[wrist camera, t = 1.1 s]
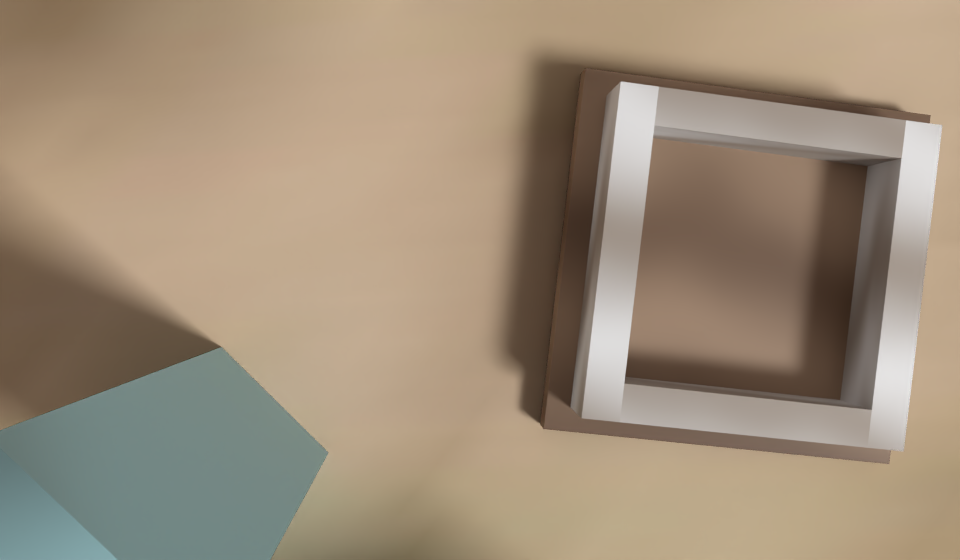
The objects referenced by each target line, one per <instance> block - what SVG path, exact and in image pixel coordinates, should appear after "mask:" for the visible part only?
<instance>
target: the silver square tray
mask: <svg viewBox="0 0 960 560" xmlns="http://www.w3.org/2000/svg"><path fill="white" fill-rule="evenodd" d="M930 116H931V115H925V114H917V113H910V112H903V111H895V110H888V109H881V108H874V107H866V106H859V105H852V104H844V103H837V102H830V101H822V100H815V99H808V98H801V97H793V96H786V95H779V94H771V93H764V92H757V91H749V90H742V89H735V88H728V87H720V86H713V85H706V84H698V83H691V82H684V81H676V80H669V79H662V78H655V77H647V76H640V75H633V74H625V73H618V72H611V71H604V70H596V69H589V68H585V70H584V71H583V72H582V74H581V77H580V86H579V94H578V103H577V111H576V120H575V129H574V137H573V146H572V154H571V163H570V172H569V180H568V189H567V197H566V206H565V215H564V223H563V232H562V240H561V249H560V258H559V266H558V275H557V284H556V292H555V301H554V309H553V318H552V327H551V335H550V344H549V352H548V361H547V370H546V378H545V387H544V395H543V404H542V413H541V421H540V424H541V426H542V427H543V428H544V429H549V430H559V431H569V432H579V433H589V434H599V435H608V436H618V437H628V438H638V439H648V440H658V441H667V442H677V443H687V444H697V445H707V446H717V447H727V448H736V449H746V450H756V451H766V452H776V453H786V454H795V455H805V456H815V457H825V458H835V459H845V460H855V461H864V462H874V463H884V464H889V461H890V453H891V450H894V451H904V443H905V435H906V426H907V418H908V410H909V401H910V393H911V384H912V376H913V367H914V359H915V351H916V342H917V334H918V325H919V317H920V308H921V300H922V292H923V283H924V275H925V266H926V258H927V250H928V241H929V233H930V224H931V216H932V207H933V199H934V191H935V182H936V174H937V165H938V157H939V148H940V140H941V132H942V125H937V124H930Z"/></svg>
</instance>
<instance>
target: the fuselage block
mask: <svg viewBox="0 0 960 560" xmlns="http://www.w3.org/2000/svg"><path fill="white" fill-rule="evenodd" d="M327 454H328V452H327V451H326V450H325V449H324V448H323V447H322V446H321V445H320V444H319V443H318V442H317V441H316V440H315V439H314V438H313V437H312V436H311V435H310V434H309V433H308V432H307V431H306V430H305V429H304V428H303V427H302V426H301V425H300V424H299V423H298V422H297V421H296V420H295V419H294V418H293V417H292V416H291V415H290V414H289V413H288V412H287V411H286V410H285V409H284V408H283V407H282V406H281V405H280V404H279V403H278V402H277V401H276V400H275V399H274V398H273V397H271V396H270V395H269V394H268V393H267V392H266V391H265V390H264V389H263V388H262V387H261V386H260V385H259V384H258V383H257V382H256V381H255V380H254V379H253V378H252V377H251V376H250V375H249V374H248V373H247V372H246V371H245V370H244V369H243V368H242V367H241V366H240V365H239V364H238V363H237V362H236V361H235V360H234V359H233V358H232V357H231V356H230V355H229V354H228V353H227V352H226V351H225V350H224V349H223V348H222V347H220V348H218V349H215V350H212V351H210V352H207V353H204V354H202V355H199V356H196V357H194V358H191V359H188V360H186V361H183V362H180V363H178V364H175V365H173V366H170V367H167V368H165V369H162V370H159V371H157V372H154V373H151V374H149V375H146V376H143V377H141V378H138V379H135V380H133V381H130V382H127V383H125V384H122V385H119V386H117V387H114V388H111V389H109V390H106V391H103V392H101V393H98V394H95V395H93V396H90V397H88V398H85V399H82V400H80V401H77V402H74V403H72V404H69V405H66V406H64V407H61V408H58V409H56V410H53V411H50V412H48V413H45V414H42V415H40V416H37V417H34V418H32V419H29V420H26V421H24V422H21V423H18V424H16V425H13V426H10V427H8V428H5V429H3V430H0V560H270V559H271V558H272V556H273V554H274V552H275V550H276V548H277V547H278V545H279V543H280V541H281V539H282V537H283V535H284V534H285V532H286V530H287V528H288V526H289V524H290V523H291V521H292V519H293V517H294V515H295V513H296V512H297V510H298V508H299V506H300V504H301V502H302V500H303V499H304V497H305V495H306V493H307V491H308V489H309V488H310V486H311V484H312V482H313V480H314V478H315V477H316V475H317V473H318V471H319V469H320V467H321V465H322V464H323V462H324V460H325V458H326V456H327Z"/></svg>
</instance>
